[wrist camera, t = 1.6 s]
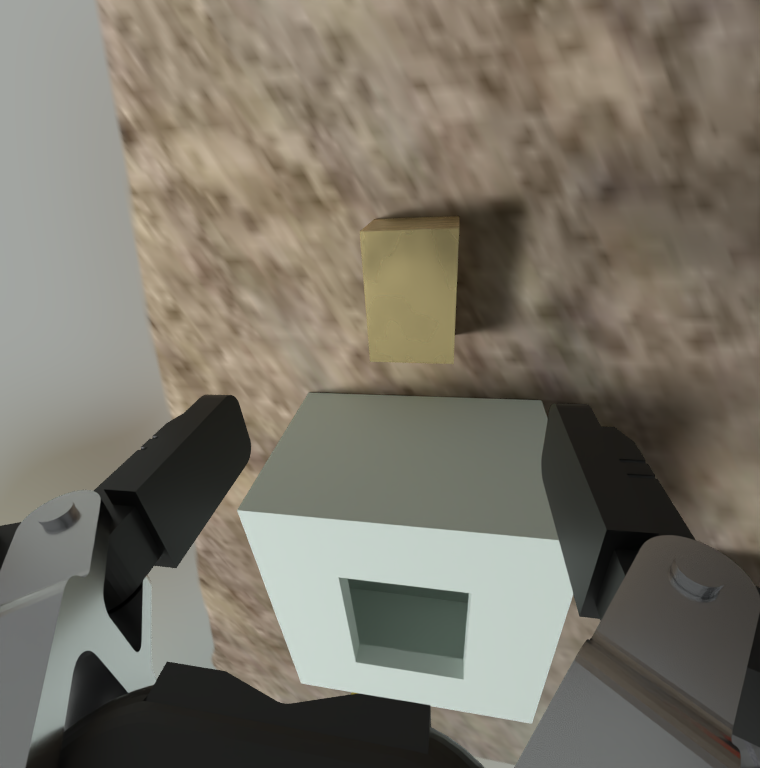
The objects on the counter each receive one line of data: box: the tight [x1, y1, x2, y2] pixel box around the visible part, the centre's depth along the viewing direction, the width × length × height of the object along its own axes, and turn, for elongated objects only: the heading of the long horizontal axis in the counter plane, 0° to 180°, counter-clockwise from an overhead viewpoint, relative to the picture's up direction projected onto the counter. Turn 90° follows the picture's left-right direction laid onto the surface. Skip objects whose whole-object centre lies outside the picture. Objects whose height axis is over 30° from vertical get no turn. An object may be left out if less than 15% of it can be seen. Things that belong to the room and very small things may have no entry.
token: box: [360, 216, 459, 364], centre depth 18 cm, size 6×4×4 cm, turn 3°
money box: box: [237, 393, 573, 724], centre depth 23 cm, size 16×14×10 cm
